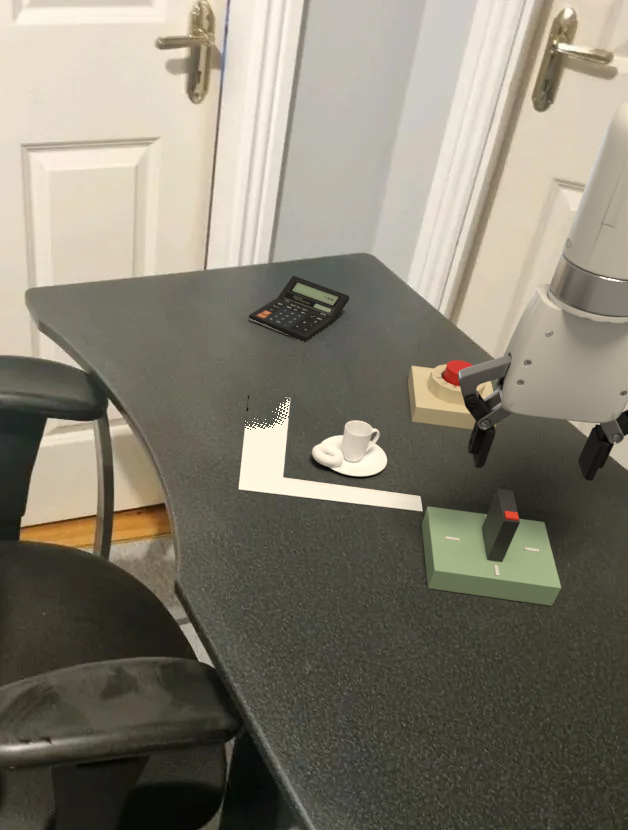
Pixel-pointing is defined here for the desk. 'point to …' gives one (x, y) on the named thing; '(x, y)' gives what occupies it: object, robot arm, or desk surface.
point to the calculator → (302, 309)
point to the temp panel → (471, 571)
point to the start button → (454, 371)
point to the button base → (440, 398)
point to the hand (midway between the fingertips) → (530, 465)
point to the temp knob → (500, 525)
